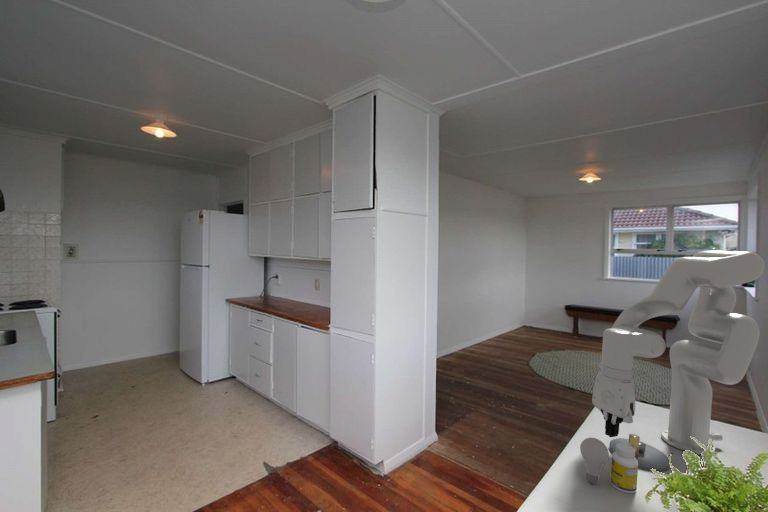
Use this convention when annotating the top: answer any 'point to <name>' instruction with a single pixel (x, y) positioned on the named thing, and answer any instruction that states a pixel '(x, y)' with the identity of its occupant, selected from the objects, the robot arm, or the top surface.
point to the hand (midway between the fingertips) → (611, 435)
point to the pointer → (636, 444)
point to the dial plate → (645, 456)
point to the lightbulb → (594, 457)
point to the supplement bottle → (624, 468)
